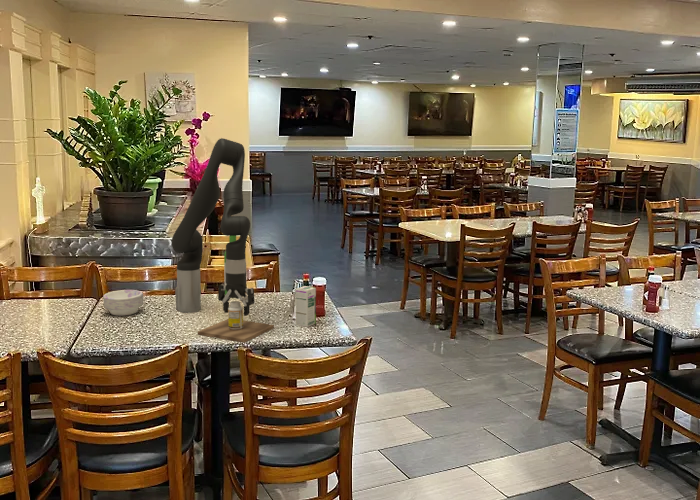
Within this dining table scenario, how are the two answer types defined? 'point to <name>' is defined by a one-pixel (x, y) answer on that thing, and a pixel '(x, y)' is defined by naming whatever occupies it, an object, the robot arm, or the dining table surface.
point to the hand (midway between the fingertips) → (236, 314)
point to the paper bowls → (123, 302)
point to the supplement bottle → (235, 315)
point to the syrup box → (305, 306)
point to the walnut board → (236, 331)
